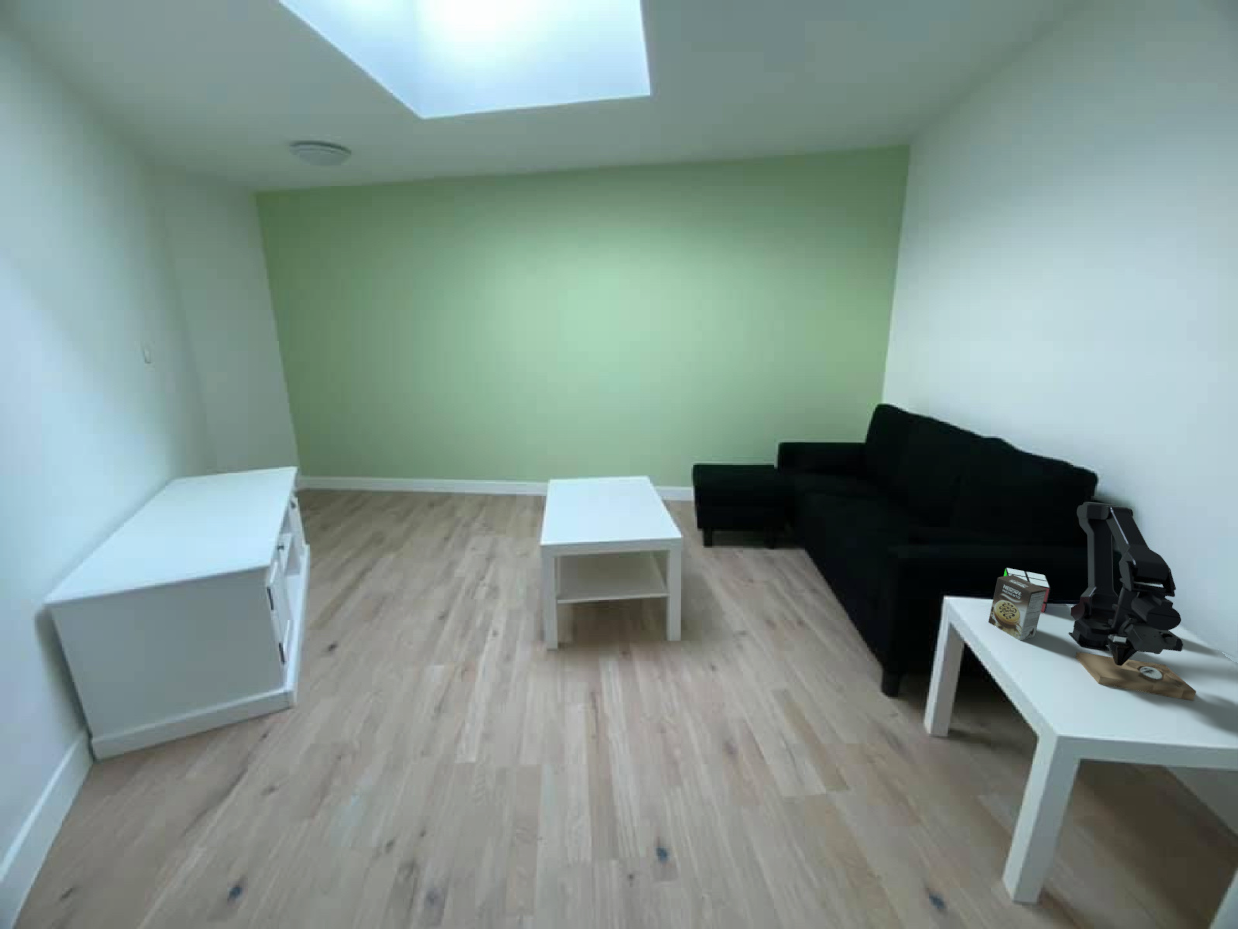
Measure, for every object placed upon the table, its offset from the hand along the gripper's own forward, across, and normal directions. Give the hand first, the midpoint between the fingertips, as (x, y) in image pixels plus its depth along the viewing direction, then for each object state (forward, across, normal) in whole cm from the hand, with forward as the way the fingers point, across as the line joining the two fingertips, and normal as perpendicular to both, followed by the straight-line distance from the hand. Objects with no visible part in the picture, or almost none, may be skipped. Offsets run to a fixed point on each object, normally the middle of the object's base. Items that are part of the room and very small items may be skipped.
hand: (1117, 664), depth 122 cm
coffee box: (+4, -16, +15) cm, 22 cm away
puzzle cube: (+4, -6, +33) cm, 34 cm away
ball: (+2, +5, 0) cm, 5 cm away
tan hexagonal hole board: (+4, +3, 0) cm, 5 cm away
